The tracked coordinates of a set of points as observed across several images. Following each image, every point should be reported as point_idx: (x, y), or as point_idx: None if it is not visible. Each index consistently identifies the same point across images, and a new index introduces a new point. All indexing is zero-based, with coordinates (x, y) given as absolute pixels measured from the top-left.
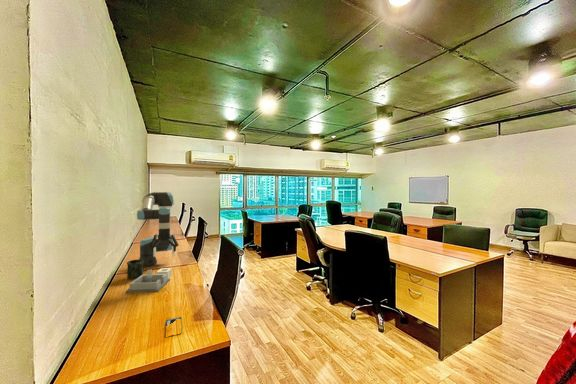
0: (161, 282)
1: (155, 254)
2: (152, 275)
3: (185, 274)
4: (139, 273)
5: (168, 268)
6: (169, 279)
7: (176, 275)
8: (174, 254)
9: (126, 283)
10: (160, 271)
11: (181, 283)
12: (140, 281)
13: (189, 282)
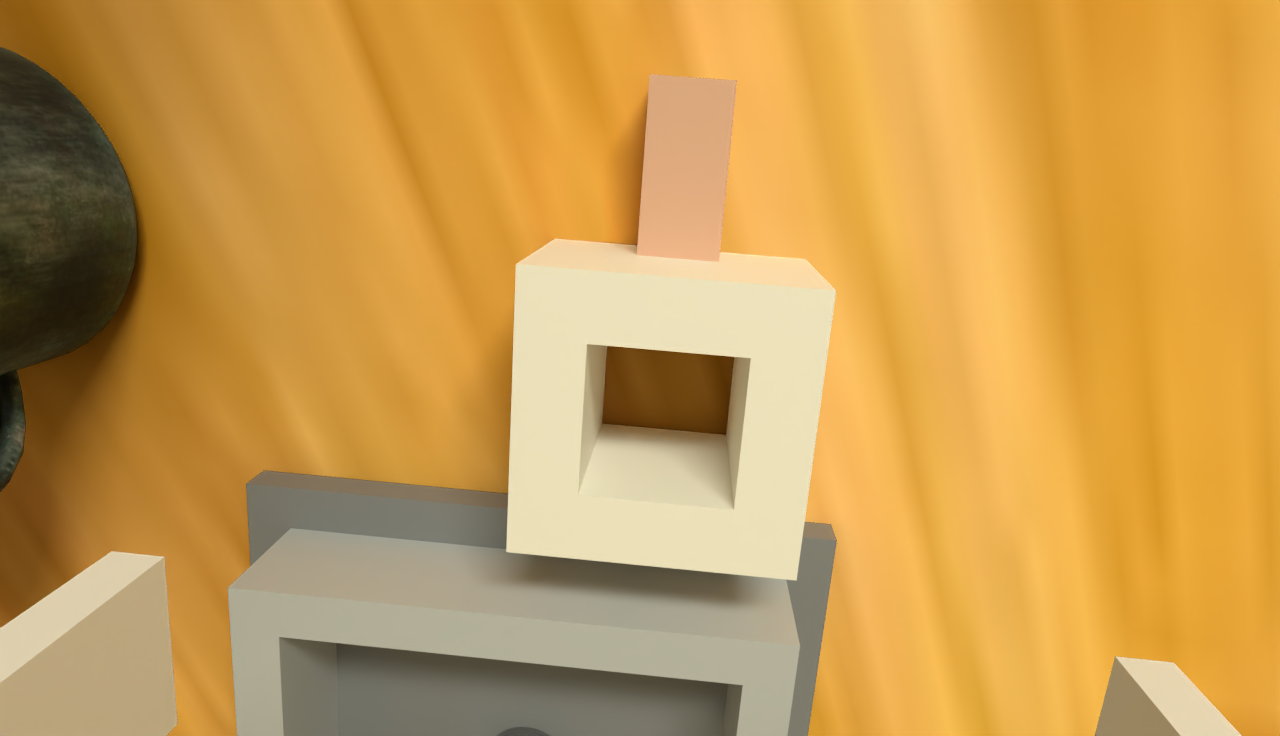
0: (722, 720)
1: (109, 663)
2: (476, 648)
3: (1127, 206)
4: (56, 317)
5: (742, 307)
6: (830, 561)
7: (912, 246)
8: (1202, 728)
9: (55, 545)
10: (597, 530)
11: (1095, 731)
12: (322, 706)
13: (1251, 712)
